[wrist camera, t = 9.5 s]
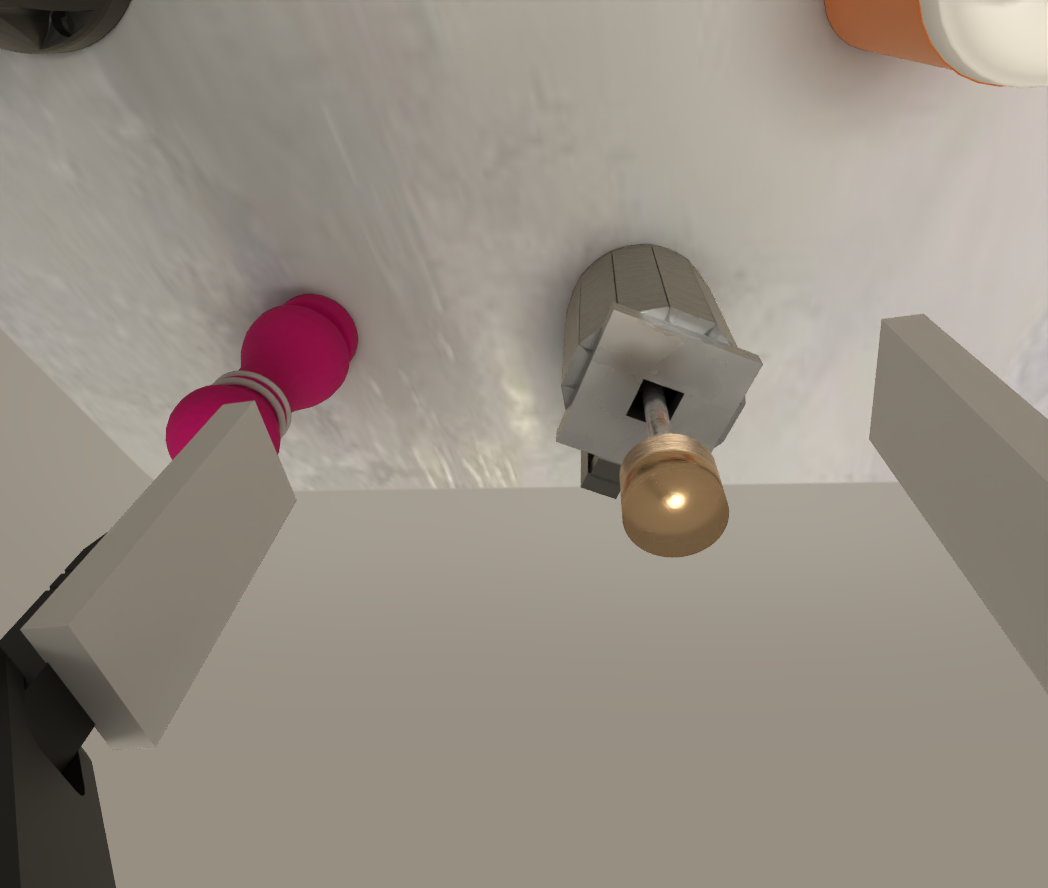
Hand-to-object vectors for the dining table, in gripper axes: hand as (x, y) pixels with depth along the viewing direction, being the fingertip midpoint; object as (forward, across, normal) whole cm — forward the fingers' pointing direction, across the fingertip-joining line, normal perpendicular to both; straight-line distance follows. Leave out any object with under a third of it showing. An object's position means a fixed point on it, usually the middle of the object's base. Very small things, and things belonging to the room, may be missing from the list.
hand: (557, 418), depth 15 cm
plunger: (+31, +3, -12) cm, 33 cm away
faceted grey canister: (+35, +3, -13) cm, 37 cm away
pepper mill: (+36, -21, -10) cm, 42 cm away
